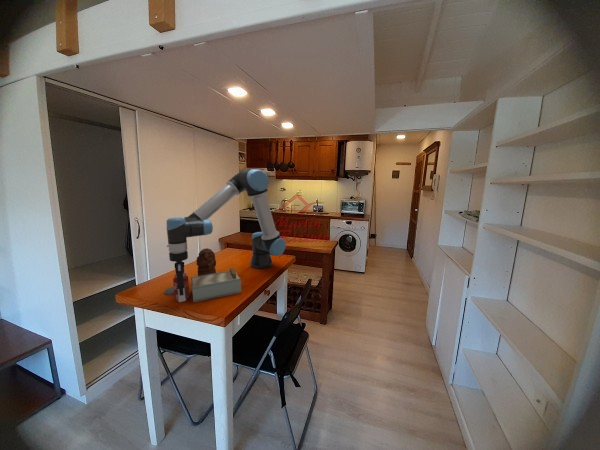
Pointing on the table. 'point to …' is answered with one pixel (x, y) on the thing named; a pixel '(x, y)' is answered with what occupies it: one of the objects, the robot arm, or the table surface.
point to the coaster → (169, 291)
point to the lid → (215, 278)
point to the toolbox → (215, 289)
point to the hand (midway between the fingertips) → (182, 295)
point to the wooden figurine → (206, 262)
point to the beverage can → (186, 286)
